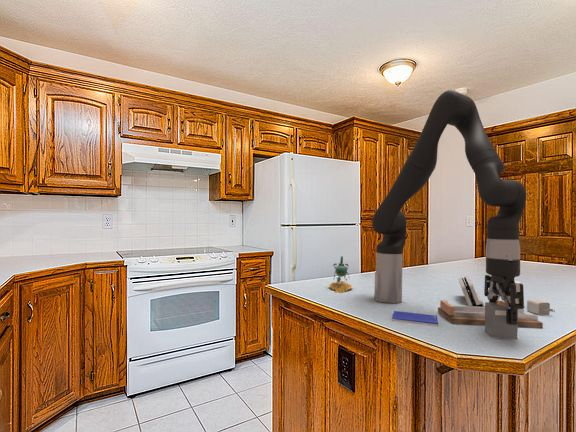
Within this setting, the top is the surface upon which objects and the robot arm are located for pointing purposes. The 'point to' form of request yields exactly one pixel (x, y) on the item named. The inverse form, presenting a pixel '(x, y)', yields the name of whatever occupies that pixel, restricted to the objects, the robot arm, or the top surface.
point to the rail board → (481, 315)
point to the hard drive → (415, 318)
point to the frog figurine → (340, 271)
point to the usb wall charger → (538, 307)
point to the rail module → (498, 321)
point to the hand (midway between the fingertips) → (502, 319)
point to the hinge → (470, 292)
